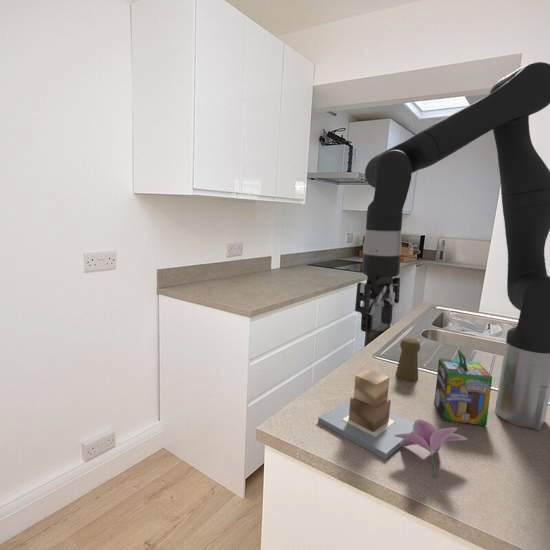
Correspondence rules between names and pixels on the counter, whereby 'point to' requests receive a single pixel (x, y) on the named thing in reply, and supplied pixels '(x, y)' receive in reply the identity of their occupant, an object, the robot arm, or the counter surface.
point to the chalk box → (462, 391)
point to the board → (376, 441)
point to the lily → (429, 437)
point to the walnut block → (369, 414)
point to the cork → (408, 360)
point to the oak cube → (371, 387)
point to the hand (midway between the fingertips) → (376, 327)
